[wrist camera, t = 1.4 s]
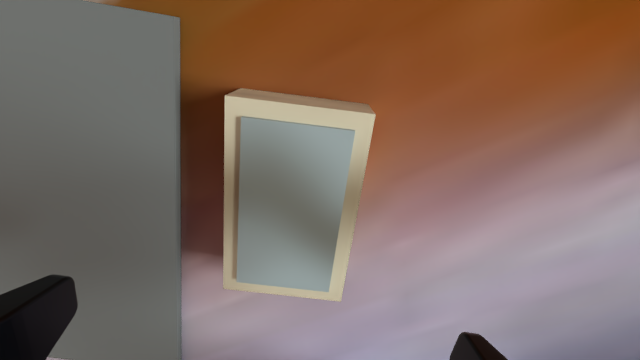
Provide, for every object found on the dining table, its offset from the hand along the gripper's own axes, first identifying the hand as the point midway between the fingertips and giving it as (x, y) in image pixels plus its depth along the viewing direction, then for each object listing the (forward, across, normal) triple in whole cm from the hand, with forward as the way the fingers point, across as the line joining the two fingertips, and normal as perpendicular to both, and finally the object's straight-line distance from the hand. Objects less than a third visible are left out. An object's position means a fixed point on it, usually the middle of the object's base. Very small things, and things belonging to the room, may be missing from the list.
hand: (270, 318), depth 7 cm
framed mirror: (+8, 0, 0) cm, 8 cm away
